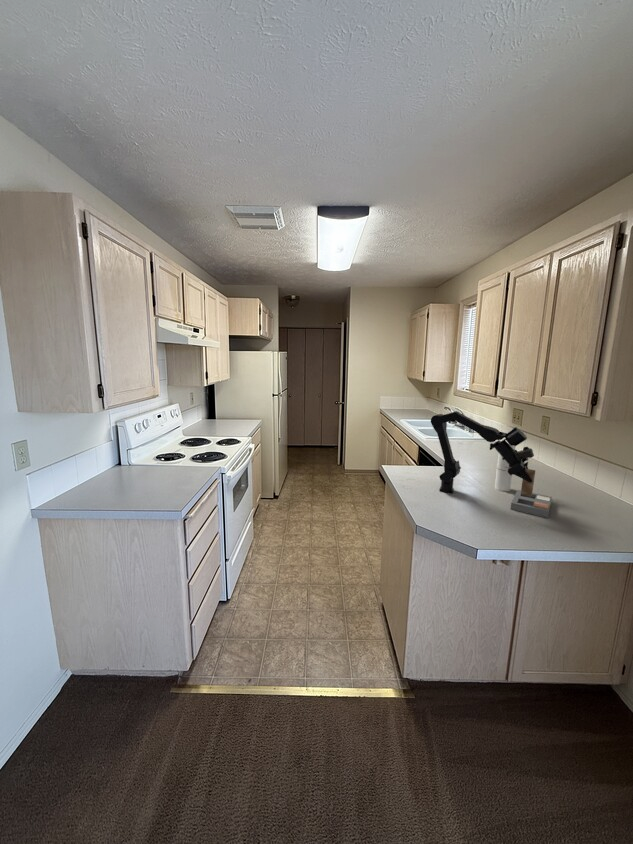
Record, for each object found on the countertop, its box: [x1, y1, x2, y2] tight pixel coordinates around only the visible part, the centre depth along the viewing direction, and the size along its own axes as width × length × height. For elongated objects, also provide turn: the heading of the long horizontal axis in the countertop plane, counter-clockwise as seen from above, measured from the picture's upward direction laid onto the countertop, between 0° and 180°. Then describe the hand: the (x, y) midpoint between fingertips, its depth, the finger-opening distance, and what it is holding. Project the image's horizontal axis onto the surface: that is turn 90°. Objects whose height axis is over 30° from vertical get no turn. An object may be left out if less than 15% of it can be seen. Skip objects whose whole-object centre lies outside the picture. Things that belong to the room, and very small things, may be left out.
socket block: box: [510, 489, 553, 519], centre depth 159 cm, size 14×20×3 cm
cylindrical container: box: [494, 439, 517, 492], centre depth 178 cm, size 7×7×25 cm
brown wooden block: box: [520, 468, 536, 496], centre depth 154 cm, size 4×4×11 cm
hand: (531, 480), depth 153 cm, fingers closed on brown wooden block, 4 cm apart
